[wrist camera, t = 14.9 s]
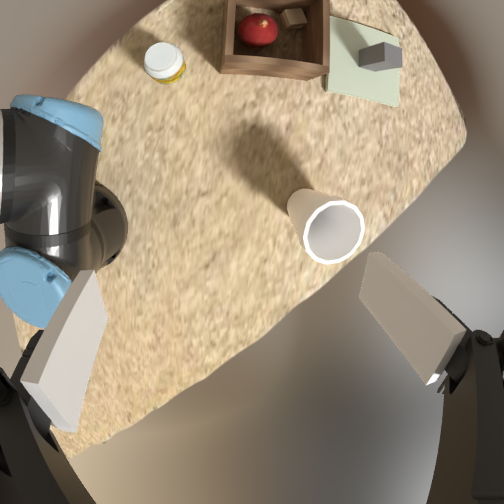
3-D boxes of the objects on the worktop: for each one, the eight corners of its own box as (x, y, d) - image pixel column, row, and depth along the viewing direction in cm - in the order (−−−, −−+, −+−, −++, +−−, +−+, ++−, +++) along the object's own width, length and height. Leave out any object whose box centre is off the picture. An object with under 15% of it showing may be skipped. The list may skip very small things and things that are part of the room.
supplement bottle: (179, 49, 34) (174, 30, 25) (190, 77, 36) (187, 64, 28) (147, 62, 34) (134, 48, 25) (158, 90, 36) (146, 81, 28)
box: (220, 73, 37) (224, 61, 29) (224, 1, 31) (230, -23, 23) (306, 80, 39) (329, 72, 31) (307, 10, 33) (329, -8, 25)
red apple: (234, 22, 33) (241, 3, 26) (270, 22, 34) (284, 6, 27) (236, 52, 36) (243, 38, 29) (272, 52, 36) (286, 40, 29)
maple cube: (284, 30, 35) (290, 24, 32) (279, 15, 33) (284, 9, 31) (301, 28, 35) (307, 22, 32) (295, 13, 34) (301, 8, 31)
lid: (324, 91, 41) (351, 87, 32) (325, 17, 35) (350, 1, 26) (393, 107, 43) (426, 108, 35) (394, 39, 37) (425, 31, 29)
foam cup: (269, 220, 49) (291, 253, 38) (290, 171, 46) (321, 189, 34) (314, 236, 52) (346, 270, 40) (336, 191, 49) (374, 215, 37)
